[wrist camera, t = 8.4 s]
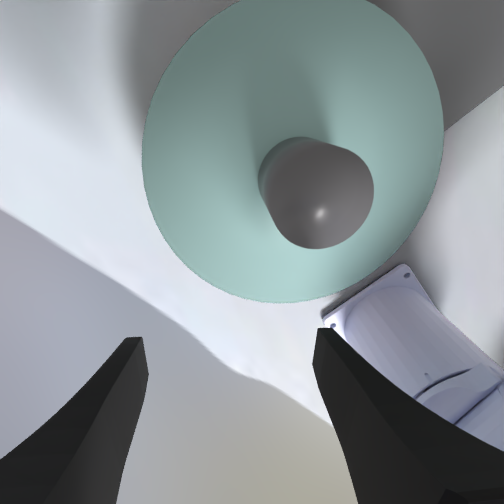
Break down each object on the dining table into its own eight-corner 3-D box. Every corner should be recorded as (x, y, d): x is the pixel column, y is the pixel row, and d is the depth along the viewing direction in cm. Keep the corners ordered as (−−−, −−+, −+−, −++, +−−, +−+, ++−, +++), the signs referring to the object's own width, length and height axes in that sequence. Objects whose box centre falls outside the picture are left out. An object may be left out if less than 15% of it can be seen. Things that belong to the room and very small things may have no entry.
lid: (475, 193, 17) (559, 220, 13) (268, 336, 20) (281, 396, 16) (343, -114, 11) (420, -252, 7) (75, 156, 14) (15, 176, 10)
